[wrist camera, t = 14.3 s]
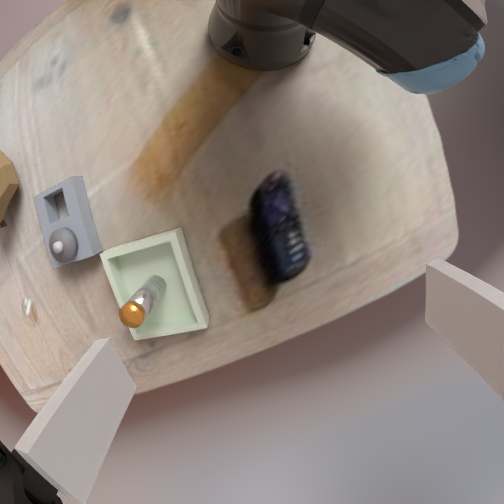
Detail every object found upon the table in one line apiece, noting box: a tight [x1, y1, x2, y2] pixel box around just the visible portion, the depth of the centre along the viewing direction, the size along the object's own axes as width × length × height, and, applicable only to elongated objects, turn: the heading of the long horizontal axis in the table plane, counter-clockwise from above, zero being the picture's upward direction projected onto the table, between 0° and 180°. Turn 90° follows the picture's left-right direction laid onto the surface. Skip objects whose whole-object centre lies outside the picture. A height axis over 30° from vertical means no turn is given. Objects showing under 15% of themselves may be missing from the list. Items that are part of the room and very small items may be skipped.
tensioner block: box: [34, 176, 103, 269], centre depth 34 cm, size 12×9×6 cm
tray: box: [100, 227, 210, 340], centre depth 38 cm, size 14×12×4 cm
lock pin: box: [119, 275, 167, 328], centre depth 34 cm, size 3×3×10 cm
